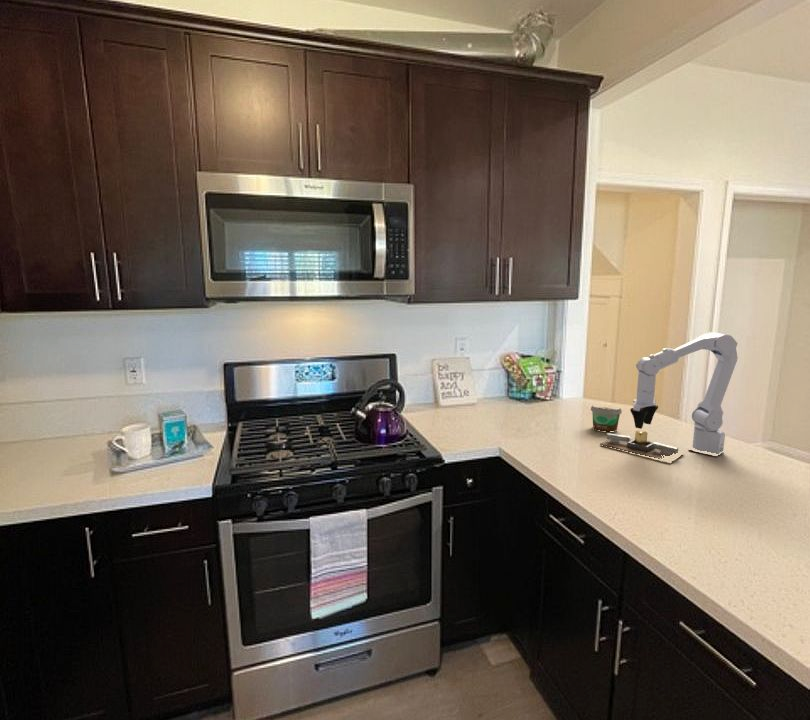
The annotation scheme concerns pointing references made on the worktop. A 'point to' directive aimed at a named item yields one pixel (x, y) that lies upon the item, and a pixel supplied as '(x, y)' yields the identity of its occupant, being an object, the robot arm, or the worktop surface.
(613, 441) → the stand
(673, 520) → the worktop surface
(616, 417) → the food container
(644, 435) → the brass coupler
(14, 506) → the worktop surface
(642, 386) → the robot arm
